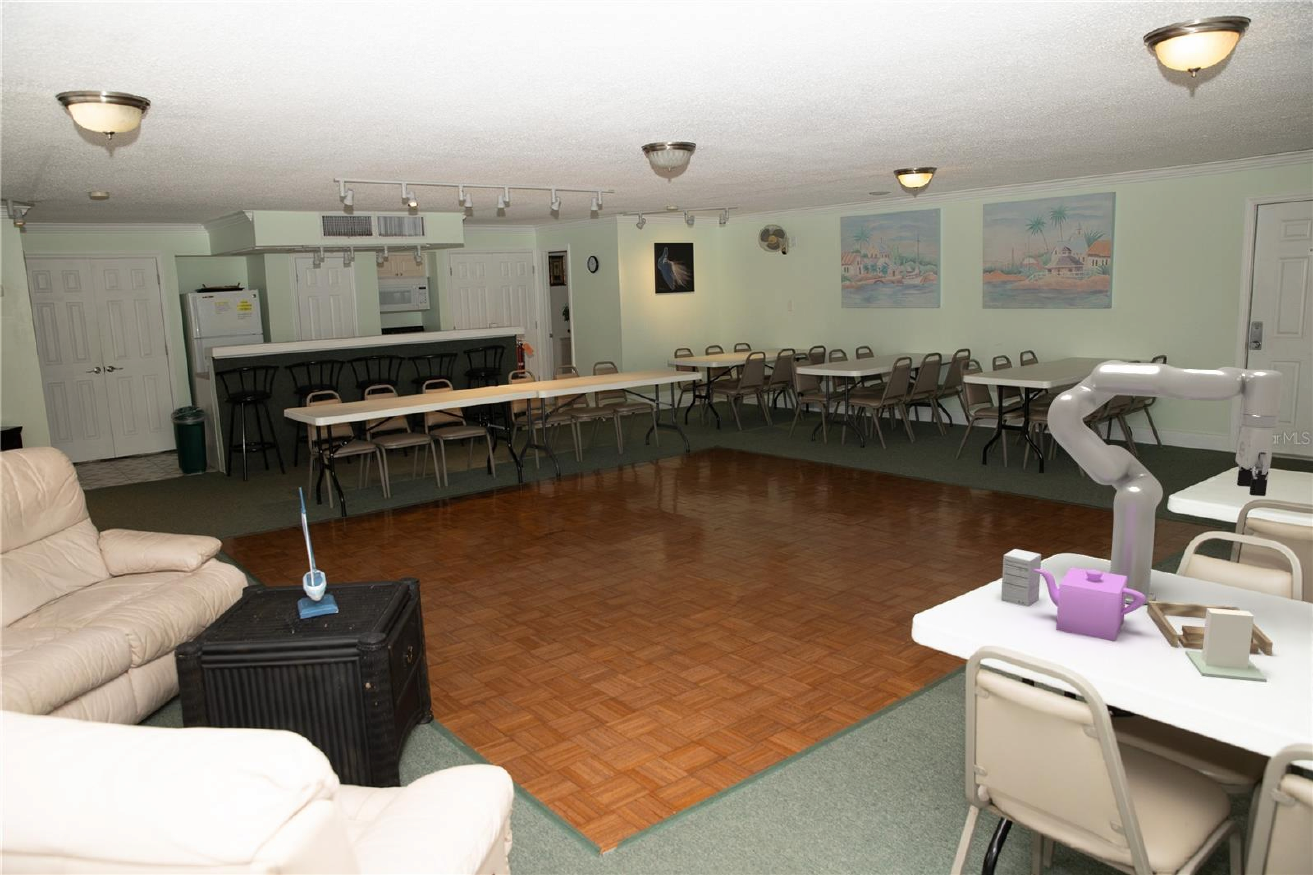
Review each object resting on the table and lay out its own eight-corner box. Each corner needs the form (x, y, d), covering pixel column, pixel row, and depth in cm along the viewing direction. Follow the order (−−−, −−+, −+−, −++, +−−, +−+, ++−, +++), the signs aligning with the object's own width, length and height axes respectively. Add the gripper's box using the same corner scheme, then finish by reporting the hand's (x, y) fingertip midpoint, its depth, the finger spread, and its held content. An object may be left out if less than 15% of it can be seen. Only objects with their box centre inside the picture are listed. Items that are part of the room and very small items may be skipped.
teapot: (1037, 605, 230) (1040, 553, 227) (1146, 625, 216) (1150, 570, 213) (1024, 624, 217) (1028, 570, 215) (1139, 646, 204) (1144, 588, 201)
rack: (1171, 646, 203) (1172, 634, 202) (1146, 611, 224) (1147, 600, 223) (1271, 655, 197) (1272, 642, 197) (1236, 618, 218) (1237, 607, 218)
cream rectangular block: (1205, 665, 192) (1211, 612, 190) (1201, 659, 195) (1206, 608, 192) (1247, 669, 190) (1253, 616, 187) (1242, 663, 192) (1248, 611, 190)
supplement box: (1012, 592, 239) (1014, 548, 237) (1039, 599, 234) (1042, 553, 231) (1000, 599, 234) (1002, 554, 231) (1027, 606, 228) (1030, 560, 226)
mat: (1202, 675, 188) (1202, 673, 188) (1185, 652, 199) (1185, 650, 199) (1266, 681, 185) (1266, 679, 185) (1245, 658, 196) (1245, 655, 196)
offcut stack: (1183, 647, 202) (1185, 632, 202) (1177, 639, 207) (1178, 624, 206) (1258, 653, 198) (1259, 638, 198) (1250, 645, 203) (1252, 630, 202)
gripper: (1230, 415, 220) (1222, 481, 223) (1252, 426, 204) (1244, 498, 207) (1265, 416, 218) (1257, 483, 221) (1290, 428, 202) (1281, 500, 205)
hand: (1250, 490), depth 214 cm, fingers open, 9 cm apart
